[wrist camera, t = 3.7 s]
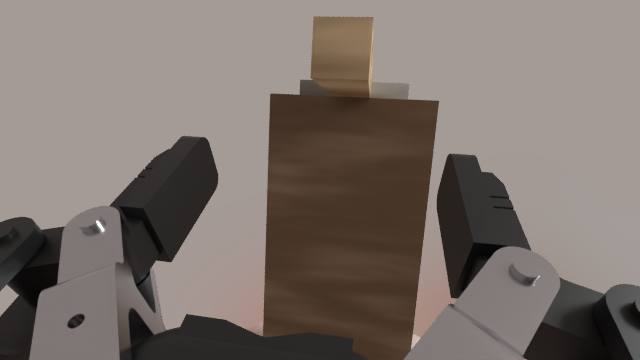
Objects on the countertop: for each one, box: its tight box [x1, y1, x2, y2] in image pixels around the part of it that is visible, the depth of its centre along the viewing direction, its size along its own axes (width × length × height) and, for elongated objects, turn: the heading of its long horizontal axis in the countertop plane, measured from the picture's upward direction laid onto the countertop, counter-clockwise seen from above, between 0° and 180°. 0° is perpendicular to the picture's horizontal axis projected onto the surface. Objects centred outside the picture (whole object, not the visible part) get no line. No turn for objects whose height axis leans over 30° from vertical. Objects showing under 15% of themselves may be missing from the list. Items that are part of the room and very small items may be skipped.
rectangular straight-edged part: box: [300, 17, 409, 100], centre depth 25 cm, size 22×8×3 cm, turn 171°
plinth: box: [263, 94, 439, 360], centre depth 33 cm, size 15×12×32 cm
